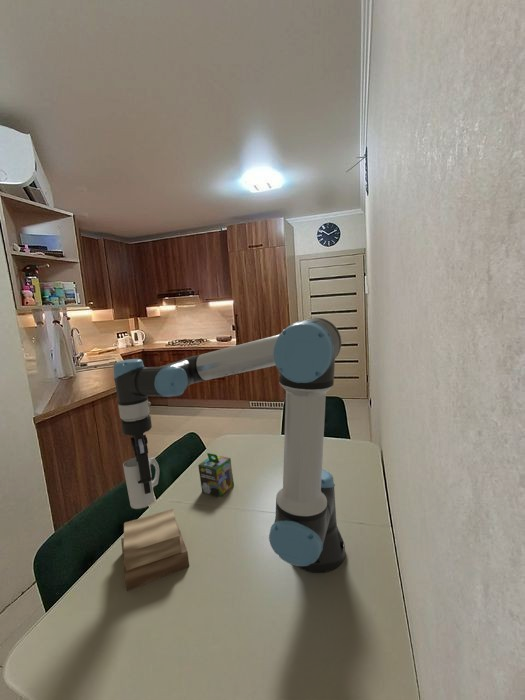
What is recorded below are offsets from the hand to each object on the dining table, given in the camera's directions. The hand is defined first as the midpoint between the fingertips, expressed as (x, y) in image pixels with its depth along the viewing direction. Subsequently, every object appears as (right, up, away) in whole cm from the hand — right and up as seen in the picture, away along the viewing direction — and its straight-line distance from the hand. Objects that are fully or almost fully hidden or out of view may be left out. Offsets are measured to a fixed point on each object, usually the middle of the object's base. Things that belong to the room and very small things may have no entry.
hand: (147, 496), depth 96 cm
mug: (0, -1, +1) cm, 2 cm away
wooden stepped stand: (+2, -19, +2) cm, 19 cm away
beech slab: (+1, -14, +1) cm, 14 cm away
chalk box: (+15, -13, +37) cm, 42 cm away
